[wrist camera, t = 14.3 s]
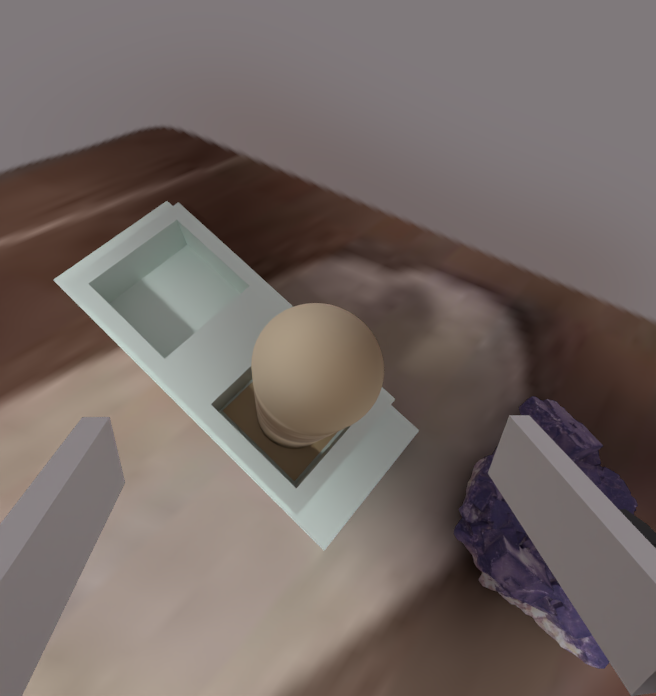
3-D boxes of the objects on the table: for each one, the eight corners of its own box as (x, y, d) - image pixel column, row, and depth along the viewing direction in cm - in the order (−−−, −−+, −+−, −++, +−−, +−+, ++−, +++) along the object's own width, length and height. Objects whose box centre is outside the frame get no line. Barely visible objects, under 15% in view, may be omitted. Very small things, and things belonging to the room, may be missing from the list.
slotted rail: (64, 289, 27) (25, 257, 23) (172, 213, 30) (154, 171, 26) (321, 545, 24) (330, 562, 20) (412, 432, 27) (436, 426, 23)
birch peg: (240, 413, 24) (221, 367, 13) (291, 360, 26) (313, 279, 15) (297, 465, 24) (327, 463, 13) (345, 407, 26) (409, 361, 14)
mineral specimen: (630, 487, 29) (688, 489, 25) (553, 654, 24) (610, 689, 20) (516, 389, 30) (555, 376, 26) (422, 530, 25) (451, 540, 21)
